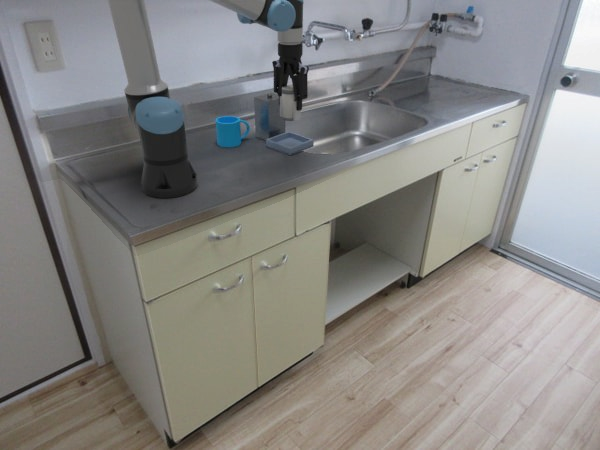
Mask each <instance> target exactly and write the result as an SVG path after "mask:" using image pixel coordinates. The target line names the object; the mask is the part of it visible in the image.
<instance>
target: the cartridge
mask: <svg viewBox="0 0 600 450" xmlns="http://www.w3.org/2000/svg"><path fill="white" fill-rule="evenodd" d="M294 99H295V95H294V89H293V84H291V85H290V84H287V86H283V87H282V119H283V120H285V122H286V121H287V122H295V121H294V120H293V100H294Z"/></svg>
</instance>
